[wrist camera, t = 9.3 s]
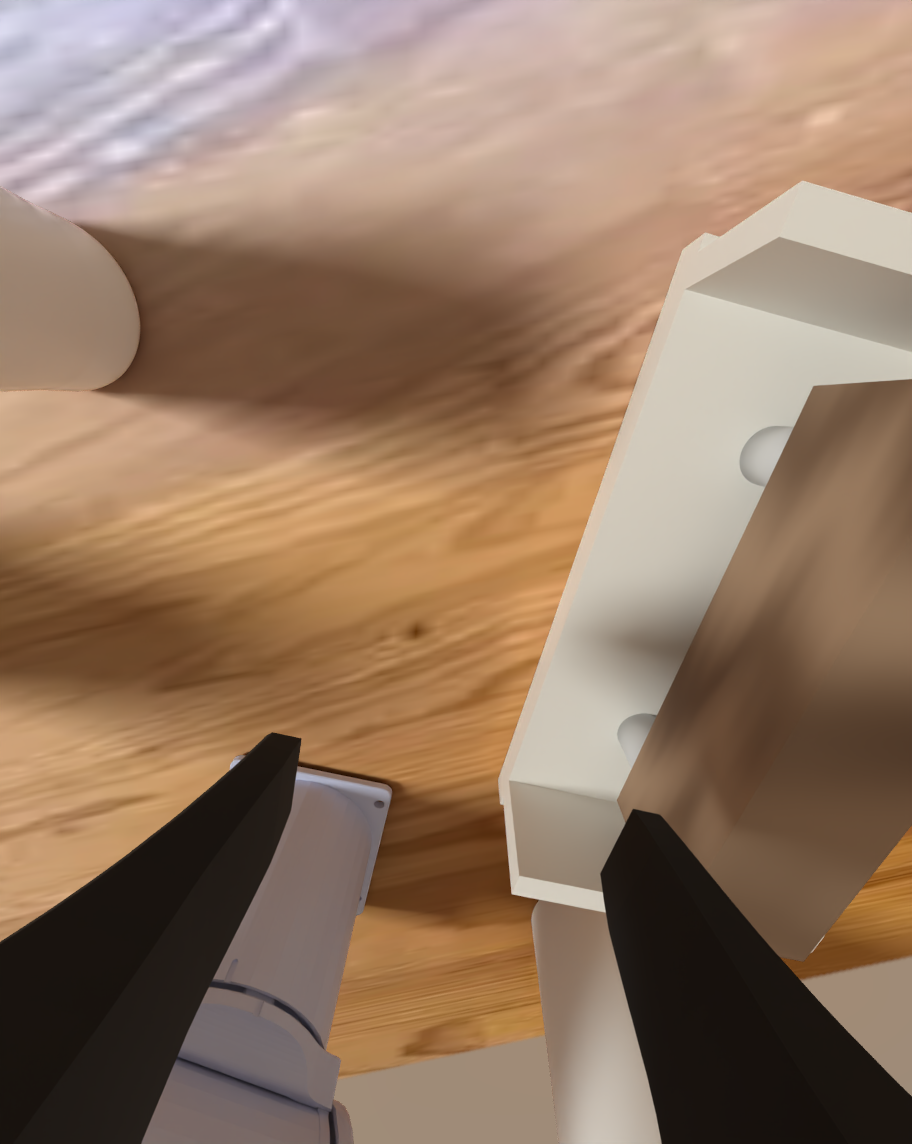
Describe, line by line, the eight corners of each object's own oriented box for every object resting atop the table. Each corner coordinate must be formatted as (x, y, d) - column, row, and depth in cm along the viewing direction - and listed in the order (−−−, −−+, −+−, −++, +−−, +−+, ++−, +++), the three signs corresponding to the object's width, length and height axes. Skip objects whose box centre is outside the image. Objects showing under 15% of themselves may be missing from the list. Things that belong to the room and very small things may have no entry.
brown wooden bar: (718, 821, 19) (803, 961, 14) (616, 799, 18) (668, 935, 14) (953, 423, 13) (1223, 431, 8) (813, 385, 13) (1011, 372, 8)
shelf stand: (723, 826, 23) (805, 960, 18) (498, 779, 23) (507, 902, 17) (1012, 342, 15) (1325, 304, 10) (682, 249, 15) (814, 150, 9)
